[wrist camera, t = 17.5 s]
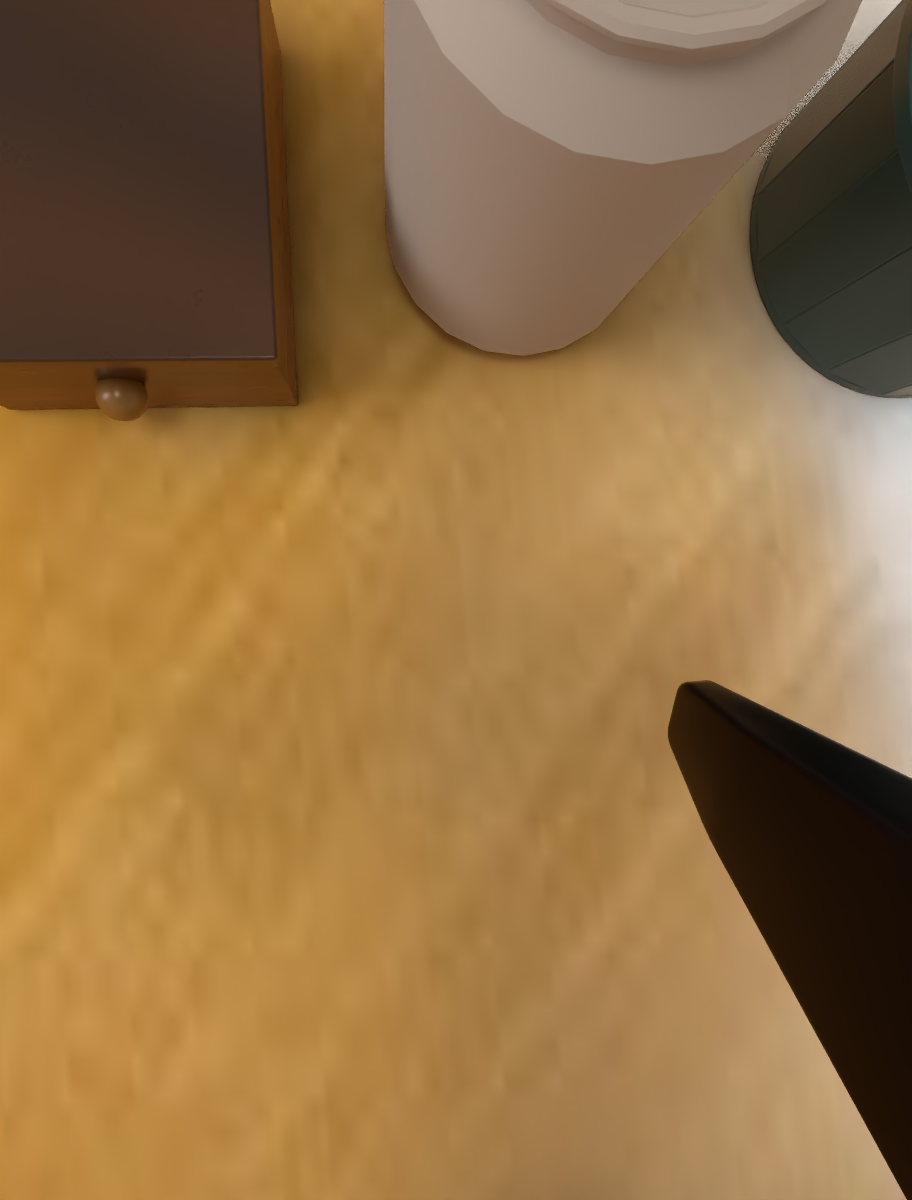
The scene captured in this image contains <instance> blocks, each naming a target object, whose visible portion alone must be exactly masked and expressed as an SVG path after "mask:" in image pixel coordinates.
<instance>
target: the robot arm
mask: <svg viewBox="0 0 912 1200" xmlns="http://www.w3.org/2000/svg"><path fill="white" fill-rule="evenodd" d="M668 739H669V743H670V746H671V749H672V751H673V754H674V756H675V758H676V761H677V763H678V765H679V768H680V770H681V773H682V775H683V777H684V780H685V782H686V785H687V787H688V789H689V792H690V794H691V797H692V799H693V801H694V804H695V806H696V808H697V811H698V813H699V816H700V818H701V820H702V823H703V825H704V827H705V829H706V832H707V834H708V836H709V838H710V840H711V842H712V844H713V846H714V848H715V850H716V852H717V854H718V855H719V857H720V859H721V861H722V863H723V865H724V866H725V868H726V870H727V872H728V874H729V876H730V877H731V879H732V881H733V883H734V885H735V887H736V888H737V890H738V892H739V894H740V896H741V897H742V899H743V901H744V903H745V905H746V907H747V908H748V910H749V912H750V914H751V916H752V918H753V919H754V921H755V923H756V925H757V927H758V929H759V930H760V932H761V934H762V936H763V938H764V939H765V941H766V943H767V945H768V947H769V949H770V950H771V952H772V954H773V956H774V958H775V960H776V961H777V963H778V965H779V967H780V969H781V971H782V972H783V974H784V976H785V978H786V980H787V982H788V983H789V985H790V987H791V989H792V991H793V992H794V994H795V996H796V998H797V1000H798V1002H799V1003H800V1005H801V1007H802V1009H803V1011H804V1013H805V1014H806V1016H807V1018H808V1020H809V1022H810V1024H811V1025H812V1027H813V1029H814V1031H815V1033H816V1035H817V1036H818V1038H819V1040H820V1042H821V1044H822V1045H823V1047H824V1049H825V1051H826V1053H827V1055H828V1056H829V1058H830V1060H831V1062H832V1064H833V1066H834V1067H835V1069H836V1071H837V1073H838V1075H839V1077H840V1078H841V1080H842V1082H843V1084H844V1086H845V1087H846V1089H847V1091H848V1093H849V1095H850V1097H851V1098H852V1100H853V1102H854V1104H855V1106H856V1108H857V1109H858V1111H859V1113H860V1115H861V1117H862V1119H863V1120H864V1122H865V1124H866V1126H867V1128H868V1130H869V1131H870V1133H871V1135H872V1137H873V1139H874V1140H875V1142H876V1144H877V1146H878V1148H879V1150H880V1151H881V1153H882V1155H883V1157H884V1159H885V1161H886V1162H887V1164H888V1166H889V1168H890V1170H891V1172H892V1173H893V1175H894V1177H895V1179H896V1181H897V1183H898V1184H899V1186H900V1188H901V1190H902V1192H903V1193H904V1195H905V1197H906V1199H907V1200H912V778H910V777H908V776H906V775H904V774H902V773H900V772H897V771H895V770H893V769H891V768H889V767H887V766H885V765H883V764H881V763H879V762H877V761H875V760H873V759H871V758H869V757H867V756H865V755H862V754H860V753H858V752H856V751H854V750H852V749H850V748H848V747H846V746H844V745H842V744H840V743H838V742H836V741H834V740H832V739H830V738H828V737H825V736H823V735H821V734H819V733H817V732H815V731H813V730H811V729H809V728H807V727H805V726H803V725H801V724H799V723H797V722H795V721H793V720H791V719H788V718H786V717H784V716H782V715H780V714H778V713H776V712H774V711H772V710H770V709H768V708H766V707H764V706H762V705H760V704H758V703H756V702H754V701H751V700H749V699H747V698H745V697H743V696H741V695H739V694H737V693H735V692H733V691H731V690H729V689H727V688H725V687H723V686H721V685H719V684H717V683H715V682H712V681H708V680H703V681H691V682H684V683H683V684H681V685H680V686H679V688H678V690H677V693H676V697H675V701H674V705H673V709H672V714H671V718H670V722H669V726H668Z"/></svg>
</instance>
